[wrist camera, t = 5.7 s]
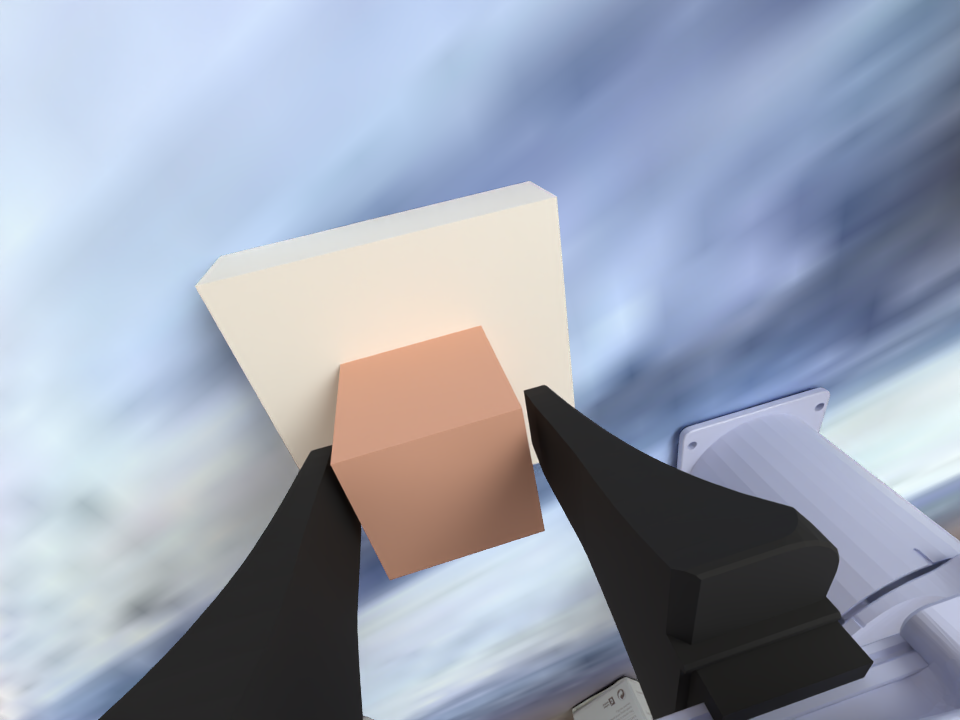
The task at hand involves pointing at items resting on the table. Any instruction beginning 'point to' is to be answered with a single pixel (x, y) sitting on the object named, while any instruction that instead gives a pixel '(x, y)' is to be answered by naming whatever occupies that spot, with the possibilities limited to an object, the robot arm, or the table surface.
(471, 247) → the pedestal
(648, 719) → the skincare box
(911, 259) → the table surface
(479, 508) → the cube
